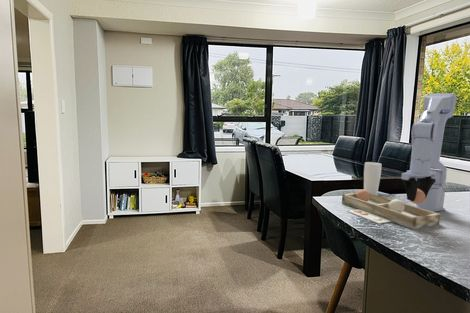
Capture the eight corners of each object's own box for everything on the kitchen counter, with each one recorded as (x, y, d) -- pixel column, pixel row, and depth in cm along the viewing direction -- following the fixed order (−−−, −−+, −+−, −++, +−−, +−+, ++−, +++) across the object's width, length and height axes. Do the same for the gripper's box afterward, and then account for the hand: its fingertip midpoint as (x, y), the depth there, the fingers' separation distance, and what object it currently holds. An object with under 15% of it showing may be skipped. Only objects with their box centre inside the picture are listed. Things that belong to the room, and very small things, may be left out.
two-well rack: (365, 200, 135) (366, 191, 134) (439, 224, 107) (440, 214, 107) (341, 202, 129) (342, 194, 129) (413, 229, 102) (414, 218, 101)
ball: (362, 199, 131) (363, 187, 130) (372, 203, 127) (373, 190, 126) (353, 200, 129) (354, 188, 128) (363, 204, 125) (364, 191, 124)
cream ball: (394, 210, 118) (395, 197, 117) (406, 214, 113) (408, 200, 113) (384, 211, 116) (386, 198, 115) (397, 216, 111) (398, 202, 111)
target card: (359, 209, 121) (359, 208, 120) (391, 221, 108) (391, 220, 108) (347, 211, 118) (347, 210, 118) (378, 223, 105) (379, 222, 105)
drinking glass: (380, 200, 135) (383, 165, 133) (363, 198, 137) (366, 163, 135) (376, 196, 142) (379, 162, 140) (360, 194, 143) (363, 161, 141)
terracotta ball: (413, 201, 111) (415, 186, 110) (427, 205, 106) (429, 190, 106) (404, 202, 109) (405, 187, 108) (418, 206, 104) (419, 191, 104)
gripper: (423, 156, 112) (419, 194, 114) (394, 158, 106) (390, 198, 108) (444, 159, 106) (439, 199, 108) (414, 161, 100) (410, 204, 102)
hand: (416, 199), depth 107 cm, fingers closed on terracotta ball, 5 cm apart
